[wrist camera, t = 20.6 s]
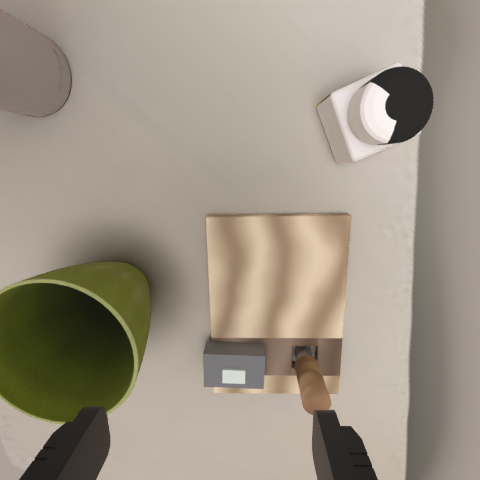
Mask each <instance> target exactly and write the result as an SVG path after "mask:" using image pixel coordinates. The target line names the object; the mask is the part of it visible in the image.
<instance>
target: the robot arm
mask: <svg viewBox="0 0 480 480" xmlns="http://www.w3.org/2000/svg"><path fill="white" fill-rule="evenodd" d="M70 87H71V73H70V69H69V65H68V63H67V60H66V58H65V56H64V54H63V53H62V51H61V50H60V48H59V47H58V46H57V45H56V44H55V43H54V42H53V41H51V40H50V39H49V38H47V37H46V36H44V35H43V34H41V33H39V32H38V31H36V30H34V29H33V28H31V27H29V26H28V25H26V24H24V23H23V22H21V21H20V20H18V19H16V18H15V17H13V16H11V15H10V14H8V13H6V12H5V11H3V10H1V9H0V110H5V111H10V112H15V113H20V114H25V115H30V116H35V117H36V116H47V115H50V114H52V113H54V112H56V111H57V110H58V109H60V108H61V107H62V106H63V104H64V103H65V101H66V100H67V97H68V95H69V92H70ZM109 448H110V432H109V425H108V419H107V412H106V408H105V407H90V406H85V407H83V408H82V409H81V410H80V411H79V413H78V414H77V416H76V417H75V419H74V420H73V422H66V423H65V424H63V425H62V426H61V427H60V428H59V429H57V430H56V431H55V432H54V433H53V434H52V435H51V437H50V438H49V439H48V441H47V442H46V444H45V445H44V446H43V449H42V450H40V452H39V453H38V455H37V456H36V457H35V460H34V461H33V462H32V463H31V464H30V466H29V467H28V468H27V470H26V471H25V473H24V474H23V475H22V477H21V478H20V479H19V480H96V479H97V476H98V474H99V472H100V470H101V468H102V466H103V464H104V462H105V460H106V458H107V455H108V452H109ZM312 451H313V460H314V465H315V470H316V475H317V479H318V480H378V479H377V477H376V474H375V472H374V469H373V468H372V464H371V461H370V459H369V456H368V455H367V451H366V449H365V446H364V444H363V441H362V439H361V438H360V436H359V435H358V434H357V433H356V432H355V431H354V429H353V428H352V427H351V426H340V424H339V421H338V418H337V415H336V412H335V411H334V410H314V414H313V434H312Z"/></svg>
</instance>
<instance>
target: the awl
mask: <svg viewBox="0 0 480 480" xmlns="http://www.w3.org/2000/svg"><path fill="white" fill-rule="evenodd" d="M295 354H296V359H297V361H296V363H295V371H296V376H297V380H298V385H299V390H300V394H301V399H302V404H303V408H304V409H305V410H306V411H307V412H308V413H310V414H314V410H329V408H330V406H331V399H330V396H329V393H328V390H327V387H326V384H325V381H324V378H323V375H322V372H321V369H320V366H319V364H318V361H317V360H316V359H315V358H314V357H312V354H311V351H310V348H309V346H297V347H296V348H295Z"/></svg>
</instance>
